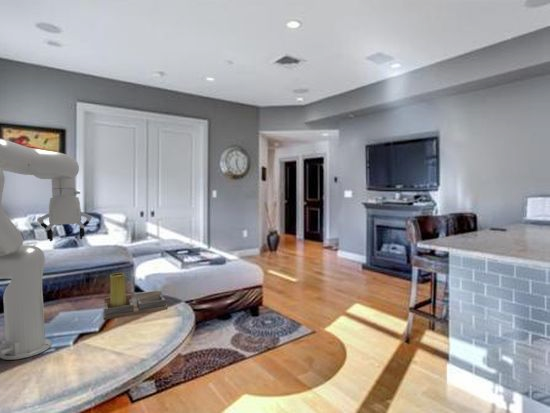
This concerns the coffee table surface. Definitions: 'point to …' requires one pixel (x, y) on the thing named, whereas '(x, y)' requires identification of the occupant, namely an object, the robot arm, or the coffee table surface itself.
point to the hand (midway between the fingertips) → (66, 239)
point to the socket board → (136, 305)
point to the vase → (117, 290)
